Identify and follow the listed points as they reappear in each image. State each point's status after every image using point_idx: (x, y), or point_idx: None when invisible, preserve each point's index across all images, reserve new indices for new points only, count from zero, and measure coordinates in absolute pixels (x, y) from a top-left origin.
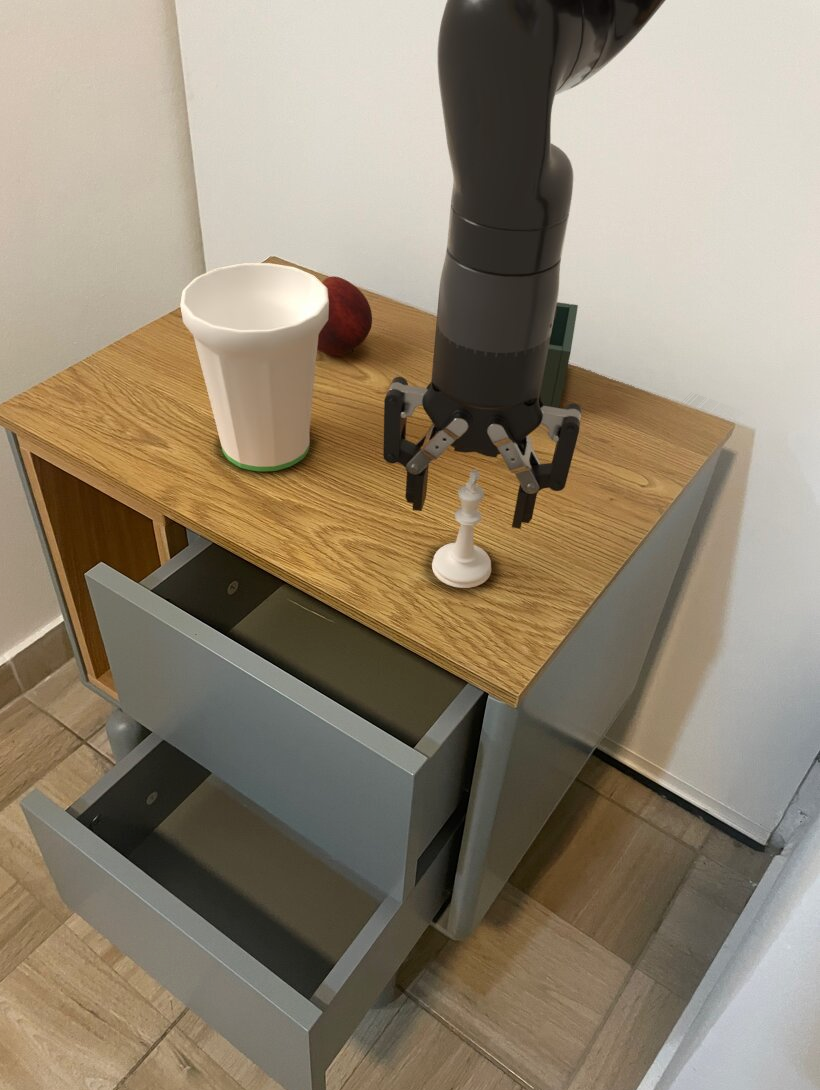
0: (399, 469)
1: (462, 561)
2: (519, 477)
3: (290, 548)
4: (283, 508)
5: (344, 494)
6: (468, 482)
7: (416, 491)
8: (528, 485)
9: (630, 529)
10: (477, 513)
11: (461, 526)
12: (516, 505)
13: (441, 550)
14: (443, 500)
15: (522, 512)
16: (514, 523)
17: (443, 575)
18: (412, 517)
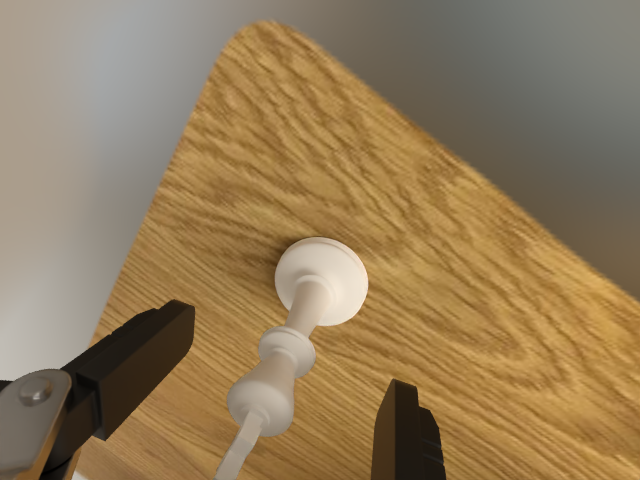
0: None
1: (316, 277)
2: (34, 438)
3: (632, 352)
4: (618, 439)
5: (493, 445)
6: (247, 446)
7: (414, 442)
8: (35, 398)
9: (112, 324)
10: (265, 355)
11: (305, 333)
12: (139, 346)
13: (350, 310)
14: (337, 406)
15: (138, 327)
16: (178, 309)
17: (351, 259)
18: (387, 385)
